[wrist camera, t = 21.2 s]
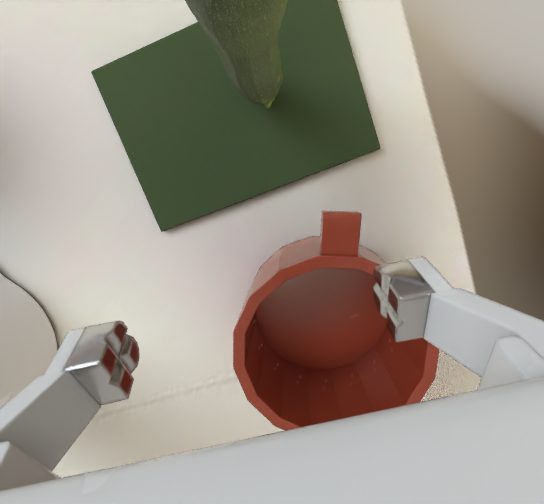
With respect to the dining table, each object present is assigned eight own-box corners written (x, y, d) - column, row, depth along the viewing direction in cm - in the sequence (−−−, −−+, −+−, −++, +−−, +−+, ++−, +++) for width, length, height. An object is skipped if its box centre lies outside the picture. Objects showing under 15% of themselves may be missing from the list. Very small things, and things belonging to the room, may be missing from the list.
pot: (247, 394, 31) (232, 467, 23) (250, 203, 27) (233, 209, 19) (385, 402, 31) (419, 480, 22) (407, 207, 27) (459, 216, 19)
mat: (163, 230, 28) (161, 231, 28) (95, 73, 26) (90, 71, 25) (378, 149, 26) (380, 148, 25) (324, -33, 23) (325, -38, 23)
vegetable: (225, 87, 25) (-9, -279, 5) (259, 40, 24) (131, -590, 5) (267, 125, 25) (192, -90, 6) (302, 79, 25) (354, -347, 5)
